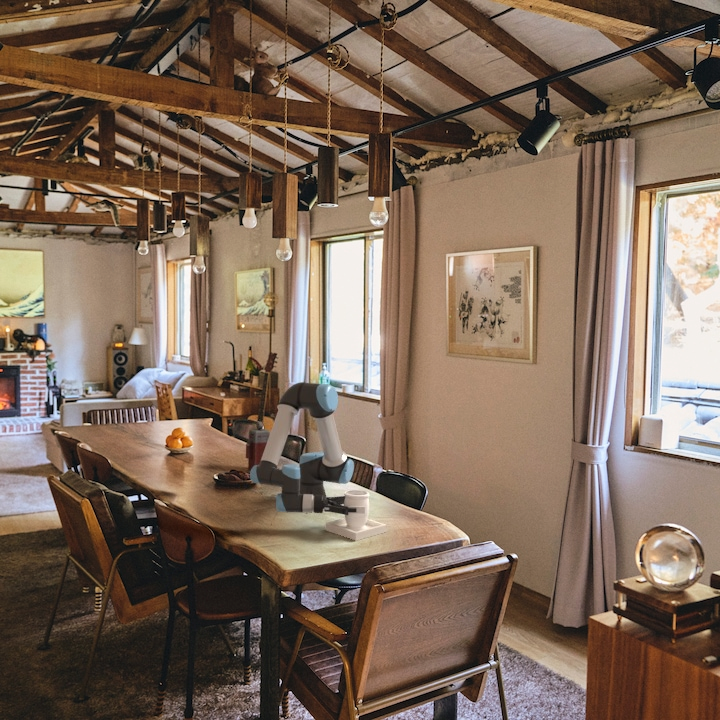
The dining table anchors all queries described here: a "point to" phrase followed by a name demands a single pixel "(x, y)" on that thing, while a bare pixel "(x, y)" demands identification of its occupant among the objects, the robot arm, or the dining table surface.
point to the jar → (356, 499)
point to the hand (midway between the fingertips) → (365, 505)
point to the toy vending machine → (256, 445)
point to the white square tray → (370, 530)
